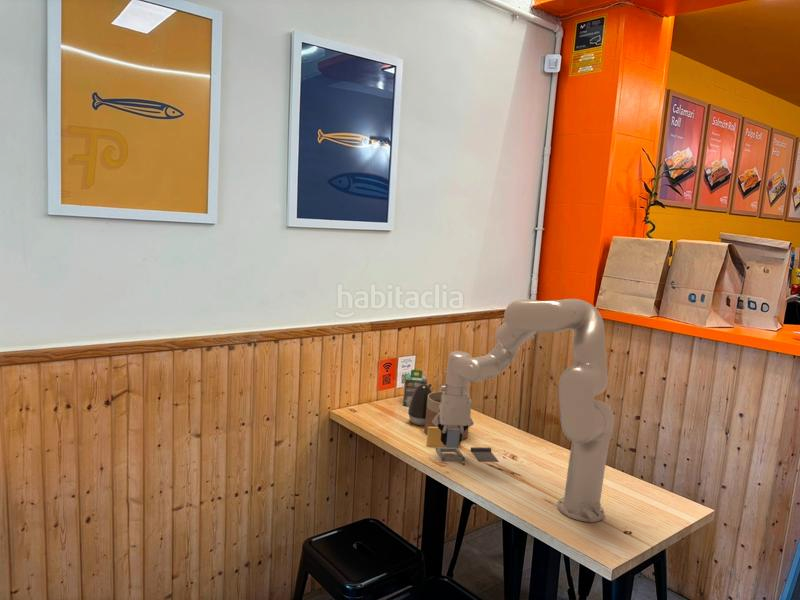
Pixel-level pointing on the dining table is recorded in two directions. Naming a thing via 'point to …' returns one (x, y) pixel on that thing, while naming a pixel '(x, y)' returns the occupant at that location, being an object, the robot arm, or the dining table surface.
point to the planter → (435, 411)
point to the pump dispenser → (419, 404)
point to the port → (441, 445)
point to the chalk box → (412, 385)
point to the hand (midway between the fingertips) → (450, 442)
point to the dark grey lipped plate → (483, 454)
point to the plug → (452, 436)
